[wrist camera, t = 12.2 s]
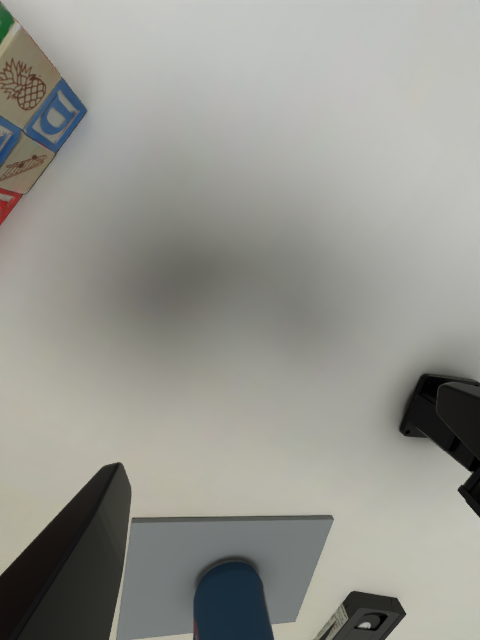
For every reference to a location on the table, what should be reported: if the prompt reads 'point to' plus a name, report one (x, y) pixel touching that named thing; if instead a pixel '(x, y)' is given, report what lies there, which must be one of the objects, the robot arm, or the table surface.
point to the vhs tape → (363, 618)
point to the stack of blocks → (29, 111)
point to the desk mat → (202, 553)
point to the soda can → (231, 604)
